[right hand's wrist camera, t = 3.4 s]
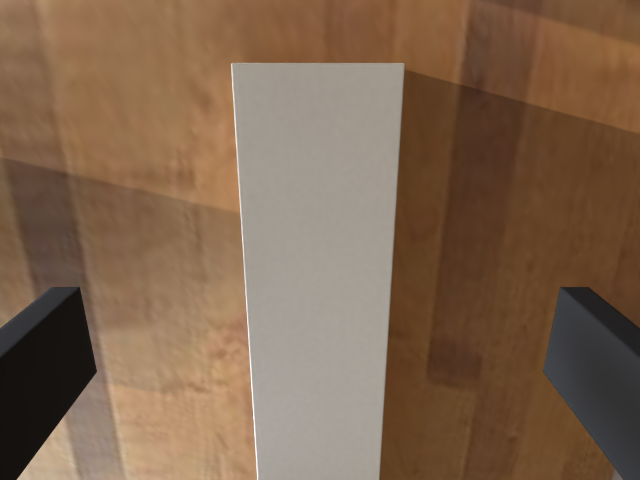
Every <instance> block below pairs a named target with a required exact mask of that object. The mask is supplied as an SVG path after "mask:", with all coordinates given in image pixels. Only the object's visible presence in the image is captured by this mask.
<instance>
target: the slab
mask: <svg viewBox="0 0 640 480" xmlns="http://www.w3.org/2000/svg"><path fill="white" fill-rule="evenodd" d="M231 70H232V86H233V101H234V117H235V133H236V148H237V164H238V180H239V195H240V211H241V227H242V242H243V258H244V274H245V290H246V305H247V321H248V337H249V352H250V368H251V384H252V399H253V415H254V431H255V446H256V462H257V478H258V480H380V465H381V448H382V432H383V415H384V399H385V383H386V366H387V350H388V333H389V317H390V300H391V284H392V268H393V251H394V235H395V218H396V202H397V186H398V169H399V153H400V136H401V120H402V104H403V87H404V71H405V64H404V63H232V64H231Z"/></svg>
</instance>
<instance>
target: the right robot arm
mask: <svg viewBox="0 0 640 480" xmlns="http://www.w3.org/2000/svg"><path fill="white" fill-rule="evenodd" d="M96 372H97V370H96V365H95V360H94V355H93V350H92V345H91V340H90V335H89V330H88V325H87V320H86V315H85V311H84V306H83V301H82V296H81V291H80V287H51V288H50V289H49V290H48V291H46V292H45V293H44V294H43V295H41V296H40V297H39V298H38V299H36V300H35V301H34V302H33V303H31V304H30V305H29V306H28V307H26V308H25V309H24V310H23V311H21V312H20V313H19V314H18V315H16V316H15V317H14V318H13V319H11V320H10V321H9V322H8V323H6V324H5V325H4V326H3V327H1V328H0V480H17V478H18V477H19V476H20V474H21V473H22V472H23V470H24V469H25V468H26V466H27V465H28V464H29V462H30V461H31V460H32V458H33V457H34V456H35V454H36V453H37V452H38V450H39V449H40V448H41V446H42V445H43V443H44V442H45V441H46V439H47V438H48V437H49V435H50V434H51V433H52V431H53V430H54V429H55V427H56V426H57V425H58V423H59V422H60V421H61V419H62V418H63V417H64V415H65V414H66V413H67V411H68V410H69V409H70V407H71V406H72V405H73V403H74V402H75V400H76V399H77V398H78V396H79V395H80V394H81V392H82V391H83V390H84V388H85V387H86V386H87V384H88V383H89V382H90V380H91V379H92V378H93V376H94V375H95V374H96ZM543 372H544V374H545V375H546V376H547V378H548V379H549V380H550V382H551V383H552V384H553V386H554V387H555V388H556V390H557V391H558V392H559V394H560V395H561V396H562V398H563V399H564V400H565V402H566V403H567V405H568V406H569V407H570V409H571V410H572V411H573V413H574V414H575V415H576V417H577V418H578V419H579V421H580V422H581V423H582V425H583V426H584V427H585V429H586V430H587V431H588V433H589V434H590V435H591V437H592V438H593V439H594V441H595V442H596V443H597V445H598V446H599V448H600V449H601V450H602V452H603V453H604V454H605V456H606V457H607V458H608V460H609V461H610V462H611V464H612V465H613V466H614V468H615V469H616V470H617V472H618V473H619V474H620V476H621V477H622V478H623V480H640V328H639V327H637V326H636V325H635V324H634V323H632V322H631V321H630V320H629V319H627V318H626V317H625V316H624V315H622V314H621V313H620V312H619V311H617V310H616V309H615V308H614V307H612V306H611V305H610V304H609V303H607V302H606V301H605V300H604V299H602V298H601V297H600V296H599V295H597V294H596V293H595V292H594V291H592V290H591V289H590V288H589V287H560V291H559V296H558V301H557V306H556V311H555V315H554V320H553V325H552V330H551V335H550V340H549V345H548V350H547V355H546V360H545V365H544V370H543Z"/></svg>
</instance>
